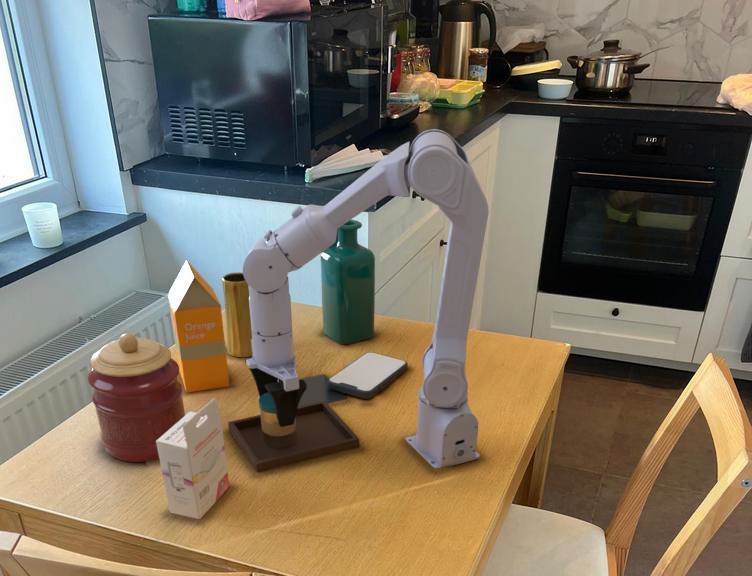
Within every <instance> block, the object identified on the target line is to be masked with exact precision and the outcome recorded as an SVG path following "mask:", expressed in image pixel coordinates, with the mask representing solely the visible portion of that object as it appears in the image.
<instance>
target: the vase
mask: <svg viewBox="0 0 752 576" xmlns="http://www.w3.org/2000/svg"><path fill="white" fill-rule="evenodd" d="M221 281H222V290H223V300H224V302H223V303H224V314H225V315H224V316H225V326H226V327H225V329H226V337H227V338H226V339H227V340H226V341H227V353H228V355H230V356H232V357H235V358H250V357H253V352H252V346H251V339H252V330H251V318H250V306H249V297H250V296H249V285H248V283H247V282H246V280H245V278H244V276H243V272H240V271H239V272H236V271H235V272H229V273H226V274H224V275H223V276H222V279H221Z"/></svg>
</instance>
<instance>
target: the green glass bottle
mask: <svg viewBox="0 0 752 576" xmlns="http://www.w3.org/2000/svg"><path fill="white" fill-rule="evenodd" d="M362 227H363V224H362V222H361V221H358V220H355V219H351V220H350V221H348V222H347V223H345V224H344V225H342V226H341V227H339V228H338V229H337V235H336V241H335V243H334V244H333V245H331V246H330V247H329V248H327V249H326V250H324V251H323V252H322V253H320V277H321V278H320V279H321V283H320V284H321V308H322V310H321V313H322V332H323V334H324V335H326V336H327V337H328V338H330V339H331V340H333V342H336V343H337V344H340V345H350V344H354V343H358V342H361V341H362V342H363V341H366V340H370V339H372V338H373V337H374V335H375V311H376V310H375V309H376V308H375V307H376V306H375V304H376V303H375V302H376V301H375V300H376V298H375V296H376V295H375V293H376V288H375V287H376V257H375V254H374V252H373V251H372V250H371V249H370V248H368V247H365V246H363V245H361V244H359V241H358V230H359V229H361V228H362Z"/></svg>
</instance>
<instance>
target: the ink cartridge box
mask: <svg viewBox="0 0 752 576" xmlns="http://www.w3.org/2000/svg"><path fill="white" fill-rule="evenodd" d="M223 431H224V430H223V424H222V418H221V414H220V410H219V406H218V401H217V399H216V397H214V398H213V397H212V399H211V400H210V401H208V402H207V404H205V405H204V406H203V407H202V408H201V409H199V410H198V411H197V412H196V411H188V412H187V413H185V416H184V417H183V418H182V419H181V420H180V421H178V422H177V423H176V424H175V425H174V426H173V427H172V428H170V429H169V430H168V431H167V432H166V433H165V434H163V435H162V436H161V437H160V438H159V439H158V440H156V444H157V449H158V454H159V458H158V459H159V464H160V469H161V474H162V479H163V480H162V481H163V484H164V490H165V495H166V500H167V504H168V511H169V513H170V514H171V513H172V514H175V515H179V516H184V517H188V518H192V519H195V520H200V519H202V518H203V516H205V514H206V513H207V512H208V511H209V510H211V508H212V506H213V505H214V504H215V503H216V502H217V501H218V500H219V499H220V497H221V496H222V495H223V494H224V493H225V492H226V491H227V490H228V488H230V480H229V470H228V464H227V454H226V447H225V439H224V432H223Z"/></svg>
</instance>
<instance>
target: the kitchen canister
mask: <svg viewBox="0 0 752 576" xmlns="http://www.w3.org/2000/svg"><path fill="white" fill-rule="evenodd" d="M89 362H90V363H89V365H90V367H91V369H90V370H89V372H88V374H87V382H88V384H89V386H90V387H92V389H93V393H92V397H91V398H92V399H91V400H92V404H93V405H94V408H95V411H96V416H97V421H98V426H99V430H100V431H99V432H100V433H99V434H100V438H101V443H102V445H103V446H104V449H105V451H106V453H107V454H109V455H110V456H111V457H113V458H115V459H117V460H120V461H124V462H131V463H132V462H133V463H143V462H145V463H146V462H147V461H152V460H157V459H159V454H158V449H157V444H156V440H158V439H159V438H160V437H161V436H162V435H163V434H165V433H166V432H167V431H168V430H169V429H170V428H172V427H173V426H174V425H175V424H176V423H177V422H178V421H180V420H181V419H182V418H183V417H184V416H185V415H186V411H185V406H184V400H183V398H184V397H183V386H182V384H181V382H180V381H179V380H178V376H179V375H180V371H179V365H178V361H176V360H175V359H174V358H172V352H171V350H170V348H168V347H167V346H166V345H164V344H162V343H160V342H157V341H155V340H153V339H151V338H150V339H149V338H145V337H137V336H135V335H134V334H132V333H124V334H122V335H121V336H120V337H119V339H117V340H113V341H111V342H109V343H107V344H105V345H104V346H102V347H101V349H99V350H98V351H97V352H94V354H93V355H92V357H90V361H89Z"/></svg>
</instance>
